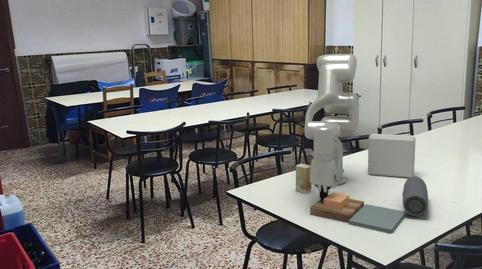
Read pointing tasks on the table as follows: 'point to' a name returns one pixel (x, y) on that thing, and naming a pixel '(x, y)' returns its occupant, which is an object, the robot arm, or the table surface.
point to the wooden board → (337, 210)
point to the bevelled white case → (391, 155)
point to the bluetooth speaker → (415, 196)
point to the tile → (336, 200)
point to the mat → (377, 218)
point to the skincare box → (303, 178)
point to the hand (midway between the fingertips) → (323, 200)
